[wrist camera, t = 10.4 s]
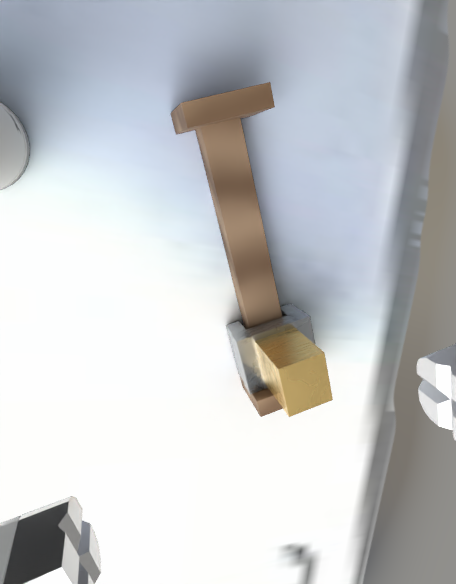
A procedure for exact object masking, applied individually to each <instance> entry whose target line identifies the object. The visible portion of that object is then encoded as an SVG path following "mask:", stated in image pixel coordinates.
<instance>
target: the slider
mask: <svg viewBox="0 0 456 584" xmlns="http://www.w3.org/2000/svg"><path fill="white" fill-rule="evenodd" d="M280 309H281V313H282V317H281V318H278V319H275V320H272V321H270V322H267V323H264V324H261V325H258V326H255V327H252V328H249V329H245V328H244V327H243V325H242V324H241V323H240V322H239V321H237V322H234V323H231V324H228V325H226V328H227V331H228V335H229V339H230V343H231V347H232V350H233V354H234V358H235V362H236V365H237V369H238V373H239V375H240V377H241V378H242V380H243V382H244V385H245V387H246V389H247V390H248V392H249V393H250V394H253V393H255V392H258V391H261V390H263V389H266V388H269V390H270V391H271V392H272V394H273V395H274V397H275V398H276V399H277V401H278V402H279V404H280V405H281V406H282V408H283V409H284V410H285V412H286V413H287V415H288V416H289V417H290V416H293V415H295V414H298V413H300V412H303V411H305V410H308V409H311V408H313V407H316V406H318V405H321V404H323V403H326V402H328V401H331V400H333V399H332V393H331V387H330V382H329V376H328V371H327V365H326V359H325V354H324V352H323V351H322V350H321V349H320V348H318V347H317V346H316V345H315V341H314V335H313V330H312V325H311V319H310V316H309V315H308V314H306V313H305V312H304V311H301V310H299V309H298V308H297V307H295V306H294V305H293V304H291V303H290V304H287V305H284V306H281V307H280Z"/></svg>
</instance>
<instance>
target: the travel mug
mask: <svg viewBox="0 0 456 584" xmlns="http://www.w3.org/2000/svg"><path fill="white" fill-rule="evenodd" d="M29 155H30V148H29V141H28V136H27V134H26V131H25V129H24V127H23V125H22V123H21V122H20V120H19V119H18V117H17V116H16V115H15V114H14V113H13V112H12V111H11V110H10V109H9V108H8V107H6V106H5V105H4V104H2V103H1V102H0V190H2V189H5V188H7V187H9V186H10V185H12V184H14V183H15V182H16V181H17V180H18V179H19V178H20V177H21V175H22V174H23V173H24V171H25V169H26V167H27V164H28V160H29Z"/></svg>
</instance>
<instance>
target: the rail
mask: <svg viewBox="0 0 456 584" xmlns="http://www.w3.org/2000/svg"><path fill="white" fill-rule="evenodd" d="M273 107H275V106H274V101H273V95H272V90H271V84H270V82H269V83H264V84H260V85H256V86H251V87H247V88H243V89H239V90H234V91H230V92H226V93H221V94H217V95H213V96H208V97H204V98H200V99H196V100H191V101H187V102H183V103H180V104H179V105H178V106H177V107H176V108H175V109H174V110H173V111H172V112H171V117H172V121H173V125H174V128H175V132H176V134H180V133H185V132H189V131H193V130H195V131H196V135H197V139H198V143H199V147H200V151H201V155H202V159H203V163H204V167H205V171H206V175H207V179H208V183H209V187H210V191H211V195H212V199H213V203H214V207H215V211H216V215H217V219H218V223H219V227H220V231H221V236H222V240H223V244H224V248H225V252H226V256H227V260H228V264H229V268H230V272H231V276H232V280H233V284H234V288H235V292H236V296H237V300H238V304H239V308H240V312H241V316H242V320H243V324H244V328H245V329H249V328H252V327H255V326H258V325H261V324H264V323H267V322H270V321H272V320H275V319H278V318H281V317H282V313H281V309H280V304H279V299H278V294H277V290H276V285H275V280H274V275H273V271H272V266H271V261H270V256H269V252H268V247H267V242H266V237H265V233H264V228H263V223H262V219H261V214H260V209H259V204H258V200H257V195H256V190H255V185H254V181H253V176H252V171H251V166H250V162H249V157H248V152H247V147H246V143H245V138H244V133H243V128H242V124H241V118H245V117H250V116H253V115H255V114H258V113H260V112H263V111H265V110H268V109H271V108H273ZM240 378H241V377H240ZM241 382H242V386H243V388H244V390H245V391H246V393H247V395H248V396H249V398H250V400H251V401H252V403H253V405H254V406H255V408H256V410H257V411H258V413H259V415H260V416H261V417H262V416H264V415H267V414H270V413H272V412H275V411H277V410H280V409H283V408H282V406H281V405H280V404H279V402H278V401H277V399H276V398H275V397H274V395H273V394H272V392H271V391H270V390H269V388H266V389H263V390H261V391H258V392H255V393H253V394H250V393H249V392H248V390H247V389H246V387H245V385H244V382H243V380H242V378H241Z"/></svg>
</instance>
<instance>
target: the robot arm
mask: <svg viewBox="0 0 456 584" xmlns="http://www.w3.org/2000/svg"><path fill="white" fill-rule="evenodd" d="M417 374H418V375H419V376H420V377H421V378H423V381H422V382H421V385H420V386H419V388H418V392H419V400H420V403H421V405H422V407H423V409H424V411H425V413H426V414H427V415H428V416H429V418H430V419H431V420H432V421H433V422H435V423H436V424H437V425H438V426H440V427H444V428H447V429H451V430H452V432H453V436H454V439H455V440H456V343H455V344H454V345H452V346H449V347H447V348H444V349H442V350H439V351H437V352H434V353H432V354H429V355H427V356H424V357H422V358H419V360H418V363H417ZM100 573H101V558H100V552H99V546H98V541H97V538H96V535H95V532H94V530H93V528H92V526H91V524H89V523H87V522H84V521H82V507H81V505H80V504H79V502H78V500H77V498H76V497H72V496H71V497H68V498H66V499H63V500H60V501H57V502H55V503H52V504H49V505H47V506H44V507H41V508H39V509H36V510H33V511H30V512H28V513H25V514H23V515H22V516H18V517H16V518H13V519H10V520H8V521H5V522H2V523H0V584H95V582H96V580H97V578H98V577H99V575H100Z"/></svg>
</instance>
